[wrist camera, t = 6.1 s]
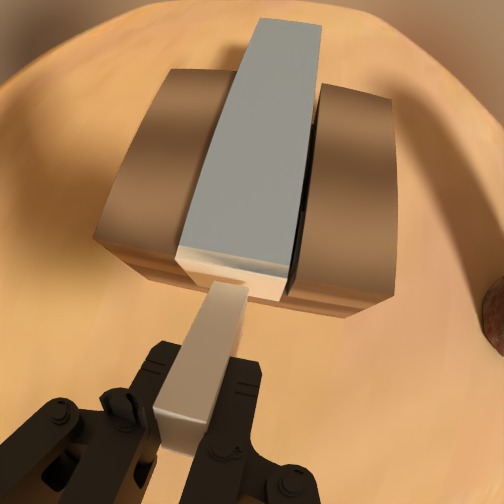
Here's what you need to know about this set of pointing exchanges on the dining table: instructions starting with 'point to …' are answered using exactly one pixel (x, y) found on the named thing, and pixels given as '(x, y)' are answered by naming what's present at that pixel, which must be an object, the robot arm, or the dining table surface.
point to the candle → (495, 315)
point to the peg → (255, 165)
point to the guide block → (311, 203)
